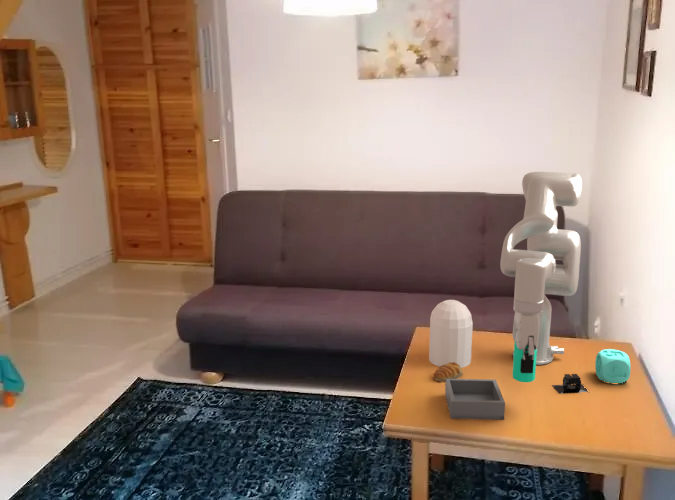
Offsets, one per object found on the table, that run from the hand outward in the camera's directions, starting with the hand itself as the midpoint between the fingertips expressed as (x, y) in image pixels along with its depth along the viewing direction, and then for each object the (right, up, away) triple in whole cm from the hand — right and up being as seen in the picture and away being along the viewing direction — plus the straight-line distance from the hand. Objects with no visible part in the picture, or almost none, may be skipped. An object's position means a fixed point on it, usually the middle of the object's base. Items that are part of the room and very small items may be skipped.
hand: (524, 367), depth 180 cm
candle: (0, -3, +1) cm, 3 cm away
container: (-15, -4, +34) cm, 37 cm away
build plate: (+17, -9, +13) cm, 24 cm away
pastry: (-17, -7, +22) cm, 29 cm away
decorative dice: (+32, -7, +20) cm, 38 cm away
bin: (-13, -11, +3) cm, 18 cm away
